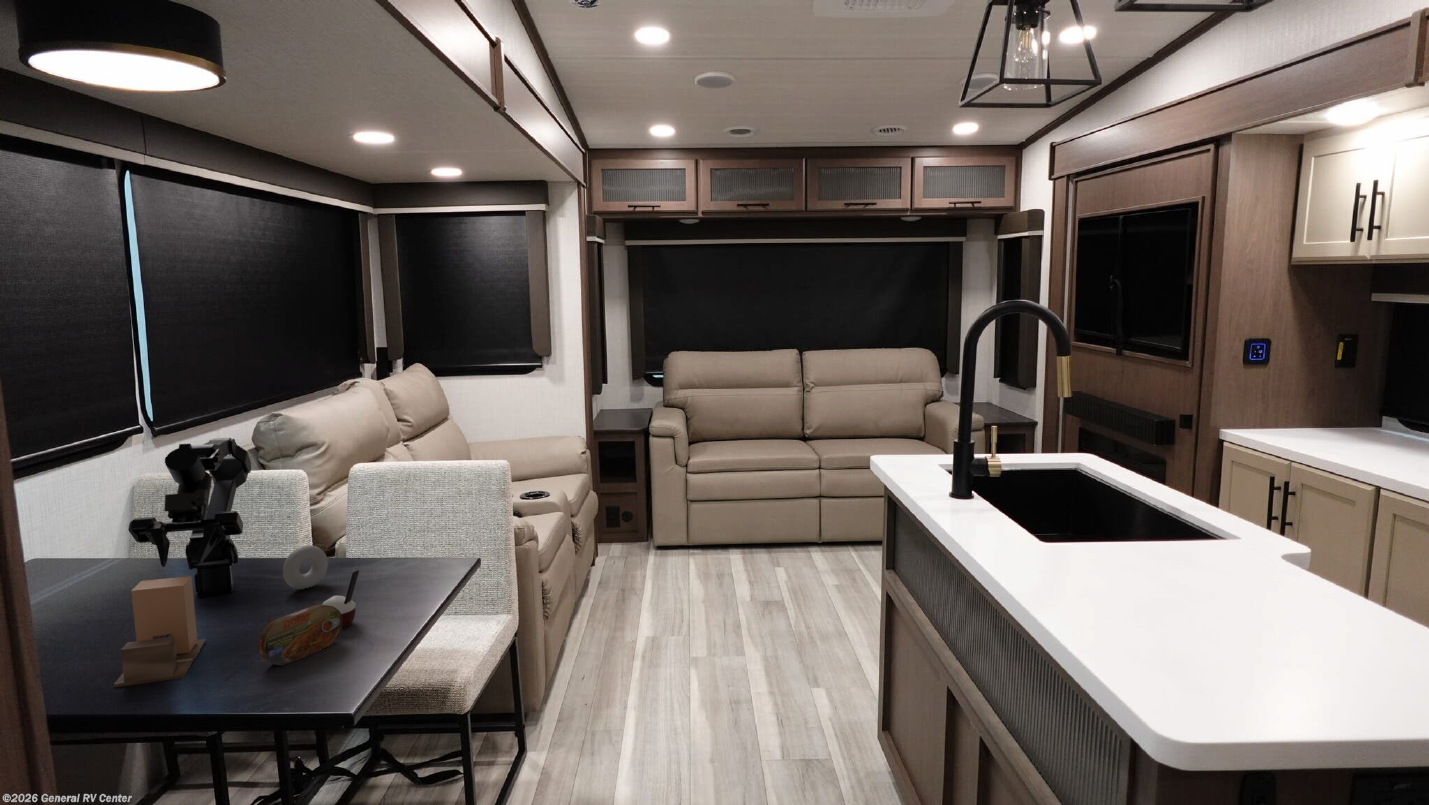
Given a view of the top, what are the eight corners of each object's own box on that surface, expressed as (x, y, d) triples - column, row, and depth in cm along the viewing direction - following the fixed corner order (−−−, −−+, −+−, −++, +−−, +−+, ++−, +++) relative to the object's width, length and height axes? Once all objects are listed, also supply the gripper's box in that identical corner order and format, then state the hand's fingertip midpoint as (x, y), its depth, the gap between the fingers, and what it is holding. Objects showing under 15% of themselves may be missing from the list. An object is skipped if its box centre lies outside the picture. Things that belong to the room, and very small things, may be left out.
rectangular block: (147, 647, 145) (141, 581, 143) (197, 641, 147) (191, 576, 146) (138, 659, 140) (131, 590, 138) (189, 652, 143) (183, 585, 141)
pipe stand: (144, 649, 146) (141, 616, 145) (206, 641, 149) (203, 609, 148) (114, 687, 132) (110, 651, 131) (182, 678, 135) (179, 642, 134)
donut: (289, 597, 172) (286, 553, 170) (281, 593, 173) (277, 550, 172) (332, 583, 180) (329, 541, 178) (323, 580, 182) (321, 539, 180)
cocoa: (314, 627, 157) (307, 571, 155) (344, 616, 162) (337, 561, 160) (338, 638, 151) (331, 579, 150) (368, 626, 156) (362, 569, 155)
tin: (266, 673, 138) (263, 628, 136) (257, 668, 139) (253, 624, 138) (345, 641, 150) (342, 600, 149) (335, 637, 152) (333, 596, 151)
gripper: (126, 479, 152) (110, 550, 144) (235, 472, 159) (225, 540, 150) (144, 507, 161) (130, 576, 152) (247, 500, 167) (238, 566, 158)
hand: (181, 564), depth 153 cm, fingers open, 6 cm apart
